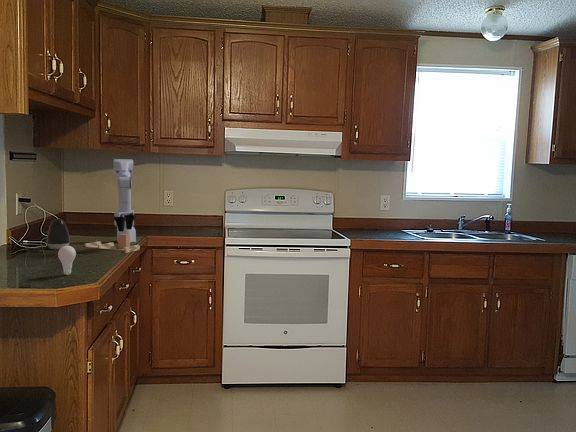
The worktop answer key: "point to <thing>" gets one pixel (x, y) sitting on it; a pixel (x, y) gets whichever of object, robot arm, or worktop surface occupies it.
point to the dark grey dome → (58, 234)
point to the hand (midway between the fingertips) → (125, 230)
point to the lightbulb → (67, 258)
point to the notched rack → (112, 246)
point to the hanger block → (123, 240)
